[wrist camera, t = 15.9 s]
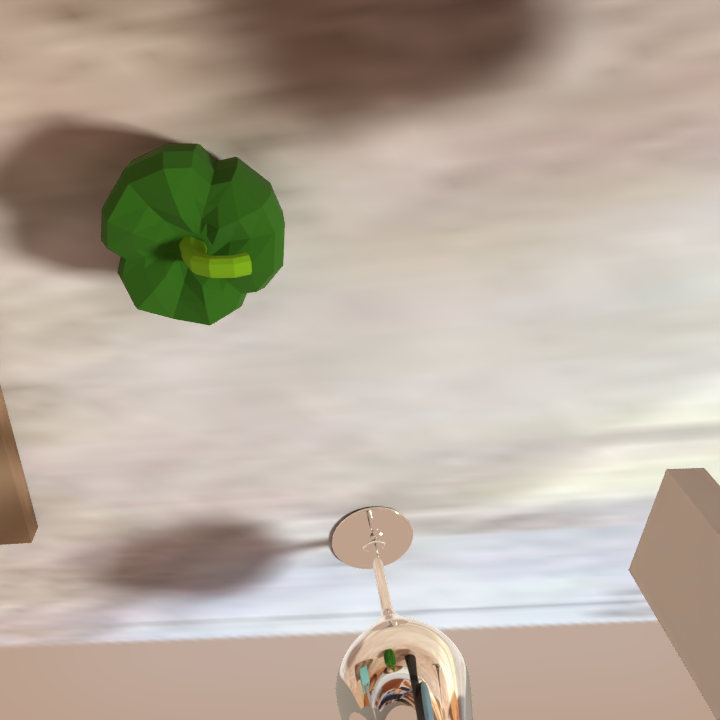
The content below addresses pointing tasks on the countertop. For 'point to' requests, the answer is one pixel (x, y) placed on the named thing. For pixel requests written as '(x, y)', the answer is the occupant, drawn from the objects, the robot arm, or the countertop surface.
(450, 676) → the wineglass
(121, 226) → the bell pepper
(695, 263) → the countertop surface
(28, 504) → the post board
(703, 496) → the robot arm
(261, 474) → the countertop surface
